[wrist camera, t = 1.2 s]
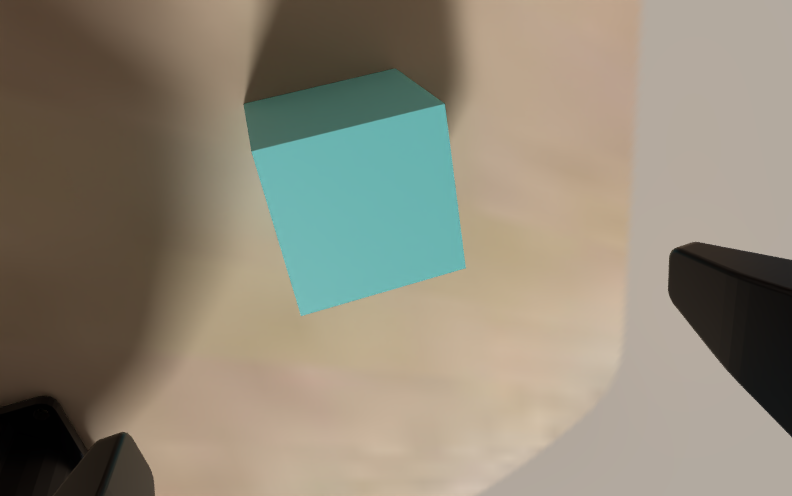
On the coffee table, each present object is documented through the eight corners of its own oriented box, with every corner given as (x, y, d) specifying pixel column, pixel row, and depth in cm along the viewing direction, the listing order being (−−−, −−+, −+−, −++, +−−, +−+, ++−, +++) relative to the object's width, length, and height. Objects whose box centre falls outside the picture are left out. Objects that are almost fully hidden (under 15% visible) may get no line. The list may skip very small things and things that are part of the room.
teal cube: (416, 204, 22) (465, 268, 18) (284, 240, 21) (300, 315, 17) (394, 67, 20) (444, 103, 15) (243, 103, 19) (251, 150, 15)
